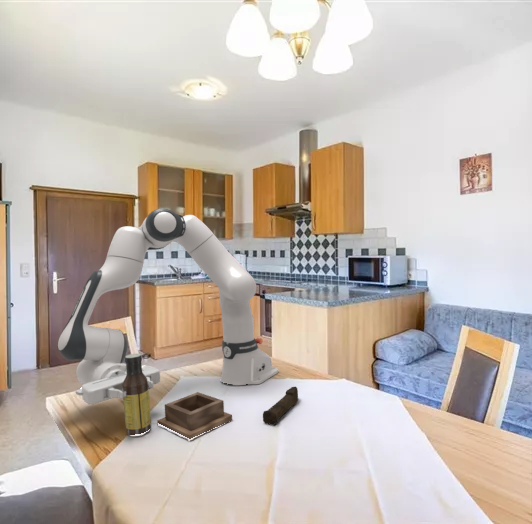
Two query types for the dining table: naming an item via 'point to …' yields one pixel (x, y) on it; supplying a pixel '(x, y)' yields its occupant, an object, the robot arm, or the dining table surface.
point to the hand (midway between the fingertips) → (137, 390)
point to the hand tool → (281, 406)
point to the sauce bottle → (136, 397)
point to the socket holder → (194, 415)
